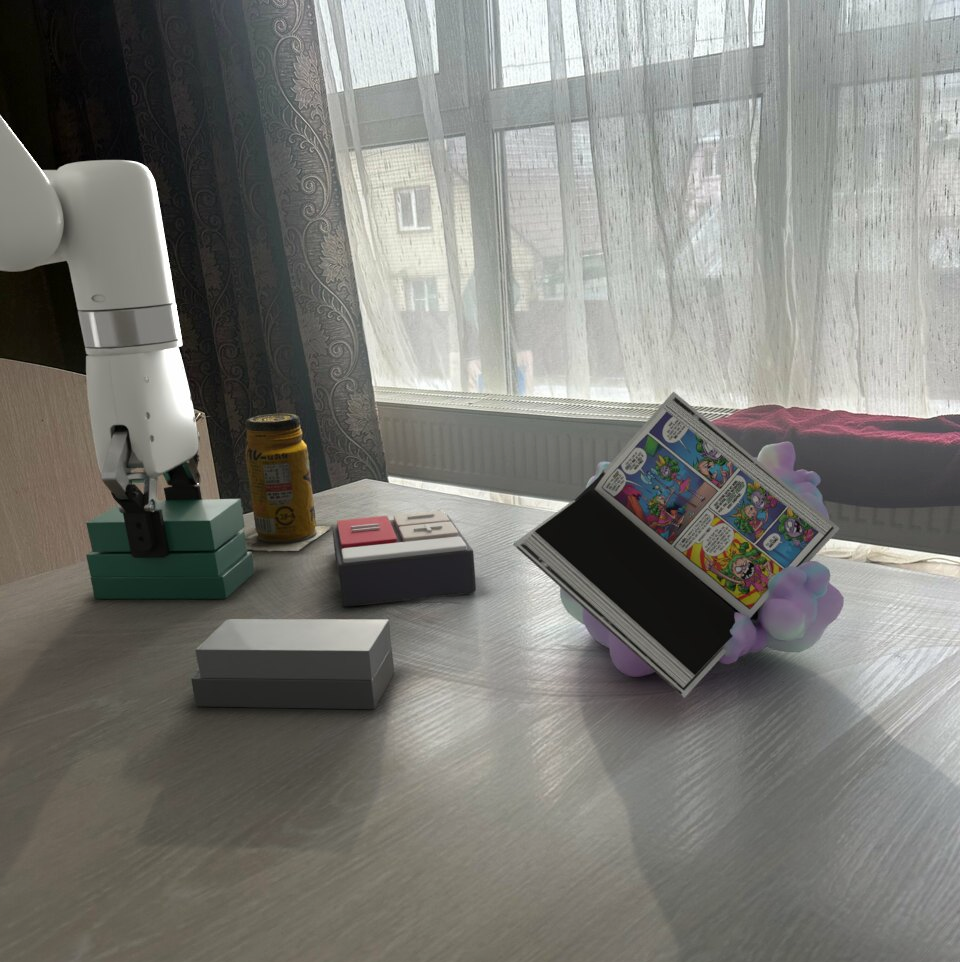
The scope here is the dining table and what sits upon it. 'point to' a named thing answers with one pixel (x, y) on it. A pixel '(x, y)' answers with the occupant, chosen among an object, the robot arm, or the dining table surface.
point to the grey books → (295, 664)
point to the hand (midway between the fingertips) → (170, 541)
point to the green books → (172, 573)
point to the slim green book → (174, 525)
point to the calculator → (402, 558)
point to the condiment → (280, 484)
